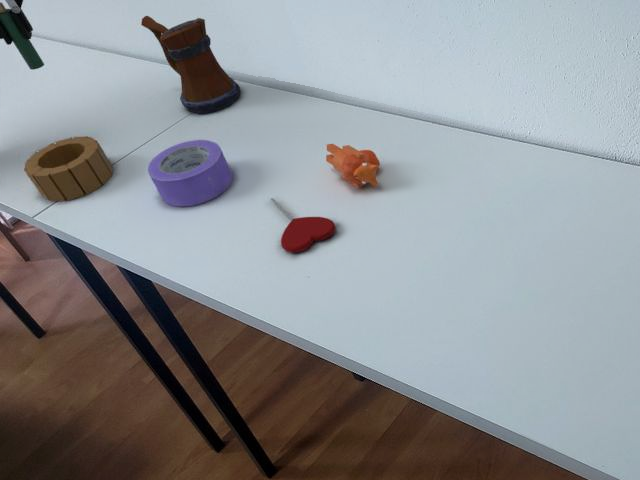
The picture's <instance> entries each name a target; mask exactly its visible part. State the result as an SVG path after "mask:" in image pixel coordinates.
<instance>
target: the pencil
mask: <svg viewBox="0 0 640 480" xmlns="http://www.w3.org/2000/svg"><path fill="white" fill-rule="evenodd" d="M0 22H1V24H2V25H3V27H4V29H5V30H6V32H7V33H8V35H9V36H10V38H11V40H12V43H13V45H14V46H15V47H16V49H17V51H18V52H19V54H20V55H21V57H22V59H23V60H24V62H25V63H26V65H27V66H28V68H29V69H30V70H33V71H34V70H38V69H40V68H43V67H44V66H45V63H44V61H43V60H42V58H41V56H40V54H39V53H38V51H37V49H36V48H35V46H34V45H33V43H32V42H31V39H28V40H27V39H25V37H24V35H23V34H22V32H21V31H20V29H19V27H18V26H17V24H16V23H15V21H14V19H13V18H12V12H11V8H6V6H5V5H4V4H3V2H0Z"/></svg>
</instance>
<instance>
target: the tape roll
mask: <svg viewBox="0 0 640 480" xmlns="http://www.w3.org/2000/svg"><path fill="white" fill-rule="evenodd" d="M147 174H148V175H149V178H150V179H151V181H152V183H153V184H154V186H155V188H156V191H157V192H158V193H159V195H160V197H161V199H162V200H163V201H164V203H165V204H167V205H170V206H173V207H178V208H179V207H181V208H182V207H183V208H184V207H193V206H198V205H201V204H205V203H207V202H209V201H211V200H214V199H215V198H217V197H219V196H220V195H221V194H224V192H225V191H226V190H227V189H228V188H229V187H230V185H231V184H232V182H233V172H232V170H231V168H230V166H229V164H228V161H227V159H226V157H225V154H224V153H223V151H222V148H221V146H220V145H219V144H218V143H217V142H215V141H212V140H208V139H194V140H186V141H184V142H179V143H176V144H174V145H172V146H170V147H168V148H165V149H164V150H162V151H160V152H159V153H158V154H157V155H155V156H154V157H153V158H152V159H151V160H150V162H149V163H148V166H147Z"/></svg>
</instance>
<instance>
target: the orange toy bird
mask: <svg viewBox="0 0 640 480" xmlns="http://www.w3.org/2000/svg"><path fill="white" fill-rule="evenodd" d="M326 151H327V152H329V153H330V154H326V156H325V161H326V162H327V163H328V164H330V165H332V167H333V169H334V170H336V171H337V172H339V173H340V174H341V179H343V180H345V181H346V182H347V183H349V184H351V185H353V186H354V187H356V188H361V187H364V185H366V184H367V183H370V184H371V185H372V186H373V187H376V186H378V185H379V182H378V179H377V177H376V176H377V175H376V174H377V170H378V169H379V168H380V165H381V164H380V163H381V162H380V160H379V158H378V156H377V155H376V153H375V152H374V151H373V150H371V149H361V150H359V149H356V148H354V147H353V146H351V145H350V144H347V145H346V144H345V145H342V148H341V147H339V146H338V145H336V144H334V143H327V144H326Z"/></svg>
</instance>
